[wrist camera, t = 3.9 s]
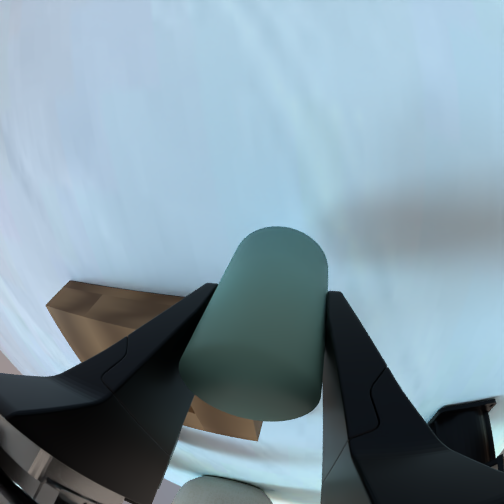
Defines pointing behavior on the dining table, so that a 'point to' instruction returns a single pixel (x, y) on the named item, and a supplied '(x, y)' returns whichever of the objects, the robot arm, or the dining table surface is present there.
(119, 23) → the dining table surface
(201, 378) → the pin
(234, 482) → the planter
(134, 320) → the bore block
